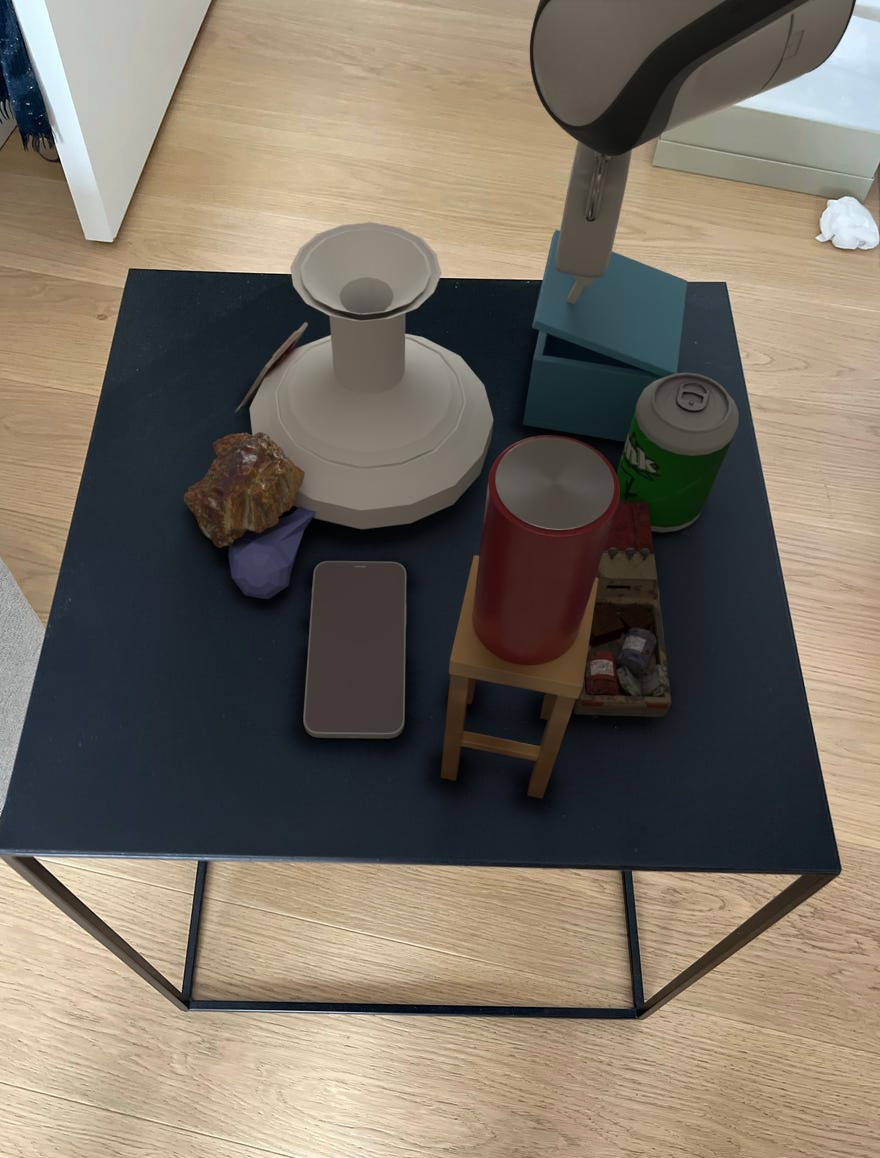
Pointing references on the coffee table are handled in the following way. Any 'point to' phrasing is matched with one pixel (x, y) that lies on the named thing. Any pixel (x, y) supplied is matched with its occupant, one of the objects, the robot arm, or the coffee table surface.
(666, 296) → the lid
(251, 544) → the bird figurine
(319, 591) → the smartphone
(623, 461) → the soda can
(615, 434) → the box
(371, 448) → the candle holder
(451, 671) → the stool
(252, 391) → the decorative emblem
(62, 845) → the coffee table surface
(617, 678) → the toy vehicle
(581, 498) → the red canister
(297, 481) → the mineral specimen
